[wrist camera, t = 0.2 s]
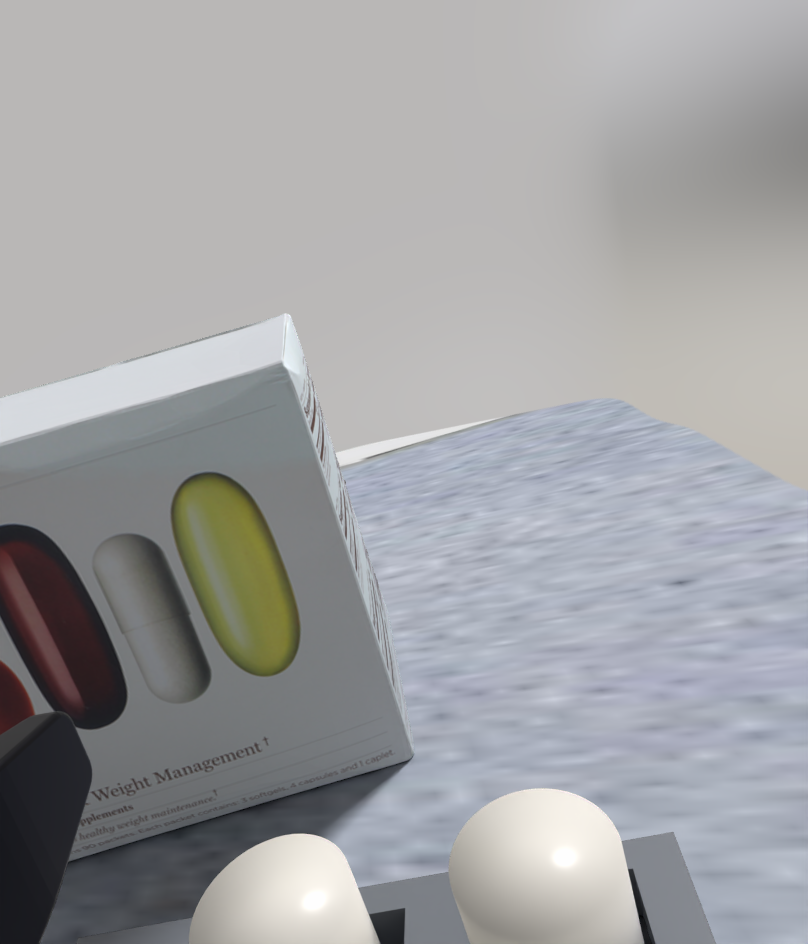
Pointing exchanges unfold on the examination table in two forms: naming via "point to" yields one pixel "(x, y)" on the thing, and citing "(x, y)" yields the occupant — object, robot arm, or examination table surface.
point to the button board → (440, 924)
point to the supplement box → (192, 585)
